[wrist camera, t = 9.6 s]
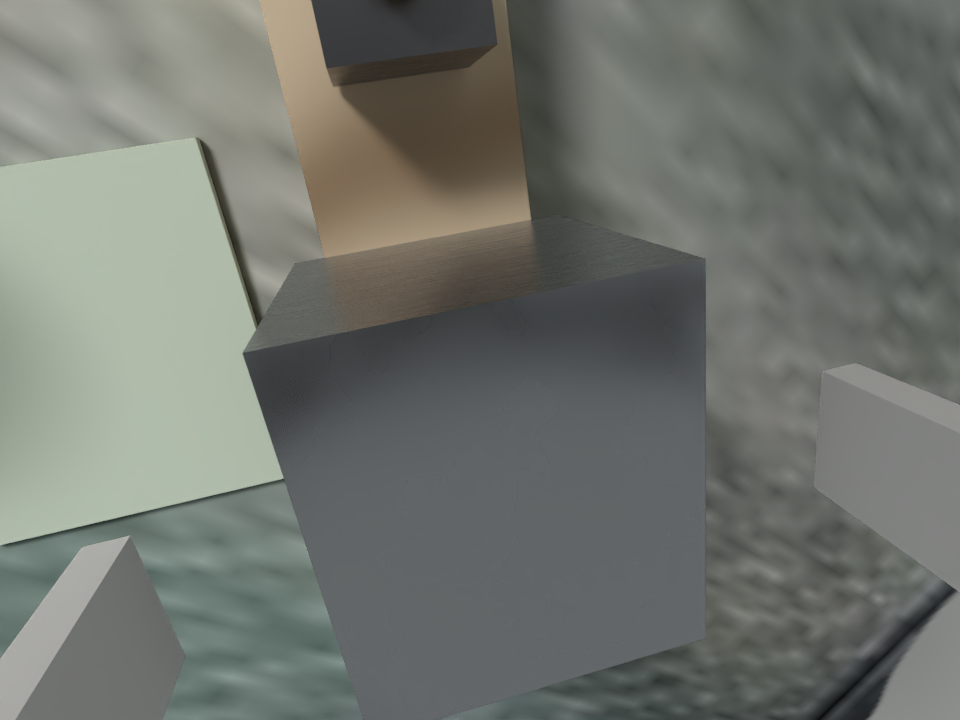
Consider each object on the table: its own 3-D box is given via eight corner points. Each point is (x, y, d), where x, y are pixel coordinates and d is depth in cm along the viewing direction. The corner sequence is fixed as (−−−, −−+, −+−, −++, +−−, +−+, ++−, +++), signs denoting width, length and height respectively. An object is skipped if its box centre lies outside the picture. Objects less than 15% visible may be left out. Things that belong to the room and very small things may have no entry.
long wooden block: (199, -311, 14) (121, -541, 9) (417, -322, 15) (444, -540, 10) (386, 449, 22) (393, 527, 17) (520, 418, 23) (561, 484, 18)
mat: (-208, 199, 16) (-221, 200, 15) (199, 138, 17) (195, 137, 17) (-7, 541, 20) (-14, 548, 20) (302, 468, 22) (301, 474, 21)
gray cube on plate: (295, 263, 14) (241, 352, 8) (557, 214, 15) (705, 258, 9) (365, 519, 17) (369, 740, 11) (581, 465, 18) (705, 637, 12)
